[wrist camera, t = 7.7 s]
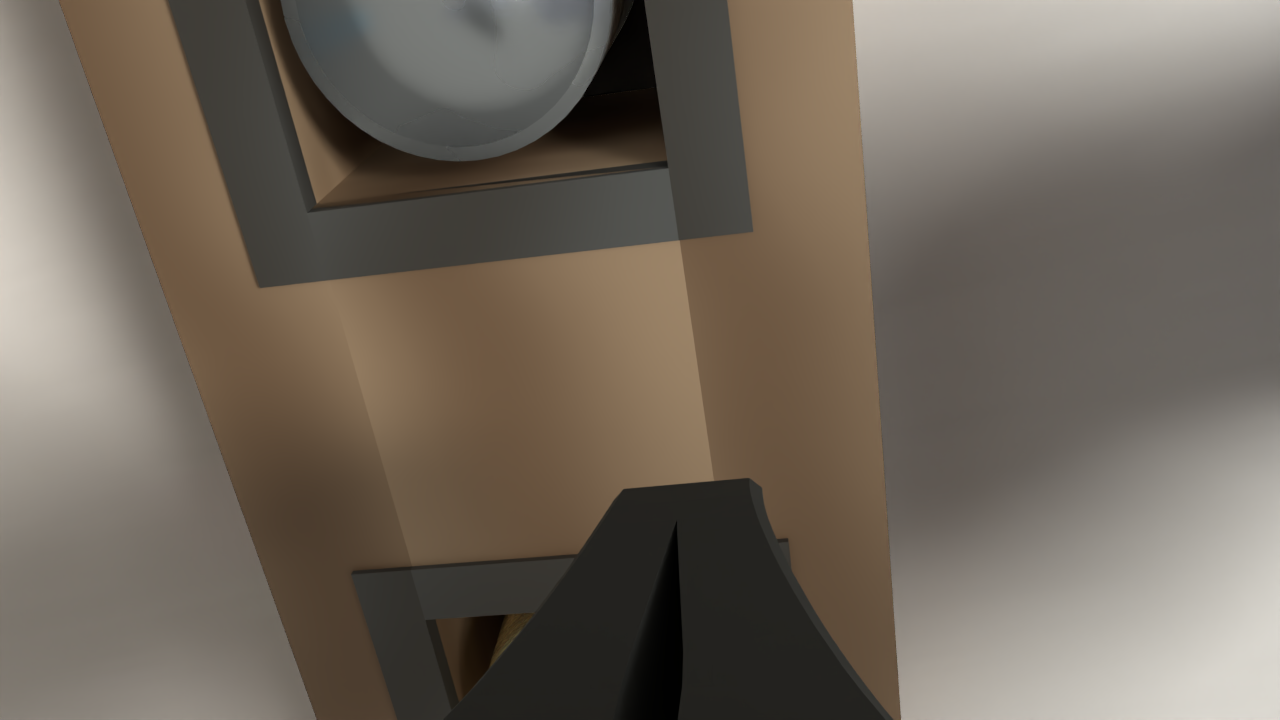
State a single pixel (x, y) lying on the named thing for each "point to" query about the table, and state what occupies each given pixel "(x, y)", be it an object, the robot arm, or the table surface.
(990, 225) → the table surface
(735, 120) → the wooden block
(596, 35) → the steel peg
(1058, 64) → the table surface
